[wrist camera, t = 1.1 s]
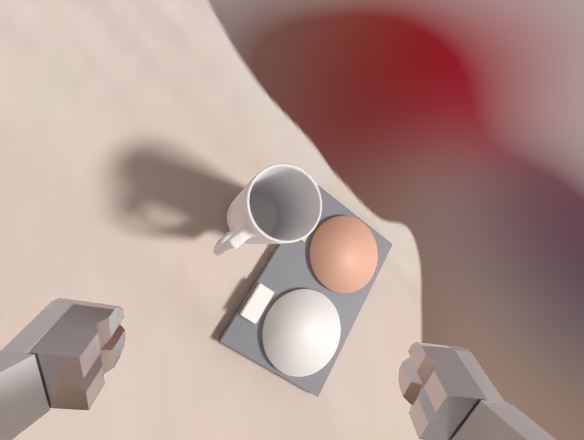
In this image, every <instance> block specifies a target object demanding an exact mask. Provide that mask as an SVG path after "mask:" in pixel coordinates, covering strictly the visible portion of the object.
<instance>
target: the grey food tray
mask: <svg viewBox="0 0 584 440" xmlns="http://www.w3.org/2000/svg"><path fill="white" fill-rule="evenodd" d="M317 186H318V185H317ZM318 188H319V191H320V194H321V199H322V212H321V217H320V220H319V222H318V224H317V226H316V227H315V229H314V230H313V231H312V232H311V233H310V234H309V235H308V236H307V237H305V238H304V239H302V240H300V241H297V242H293V243H283V244H278V245H277V247H276V249H275V250H274V252H273V253H272V255H271V257H270V258H269V260H268V261H267V263H266V265H265V266H264V268H263V269H262V271H261V273H260V274H259V276H258V277H257V279H256V281H255V282H254V284H253V286H252V287H251V289H250V290H249V292H248V294H247V295H246V297H245V298H244V300H243V302H242V303H241V305H240V306H239V308H238V310H237V311H236V313H235V314H234V316H233V318H232V319H231V321H230V322H229V324H228V326H227V327H226V329H225V331H224V332H223V334H222V335H221V337H220V339H219V341H220V342H221V343H223V344H225V345H226V346H228V347H230V348H232V349H233V350H235V351H237V352H239V353H240V354H242V355H244V356H246V357H248V358H249V359H251V360H253V361H255V362H256V363H258V364H260V365H262V366H264V367H265V368H267V369H269V370H271V371H272V372H274V373H276V374H278V375H280V376H281V377H283V378H285V379H287V380H288V381H290V382H292V383H294V384H296V385H297V386H299V387H301V388H303V389H304V390H306V391H308V392H310V393H312V394H313V395H315V396H317V397H318V396H319V394H320V392H321V390H322V388H323V386H324V384H325V381H326V379H327V377H328V375H329V373H330V371H331V369H332V367H333V365H334V363H335V361H336V359H337V357H338V355H339V353H340V351H341V349H342V347H343V345H344V343H345V340H346V338H347V336H348V334H349V332H350V330H351V328H352V326H353V324H354V322H355V320H356V318H357V316H358V314H359V312H360V310H361V308H362V306H363V304H364V302H365V299H366V297H367V295H368V293H369V291H370V289H371V287H372V285H373V283H374V281H375V279H376V277H377V275H378V273H379V271H380V269H381V267H382V265H383V263H384V261H385V258H386V256H387V254H388V252H389V250H390V248H391V246H392V244H391V243H390V242H389V241H388V240H386V239H385V238H384V237H383V236H381V235H380V234H379V233H378V232H376V231H375V230H374V229H372V228H371V227H370V226H369V225H367V224H366V223H365V222H364V221H362V220H361V219H360V218H359V217H357V216H356V215H355V214H354V213H352V212H351V211H350V210H349V209H347V208H346V207H345V206H344V205H342V204H341V203H340V202H338V201H337V200H336V199H335V198H333V197H332V196H331V195H330V194H328V193H327V192H326V191H325V190H323V189H322V188H321V187H320V186H318Z"/></svg>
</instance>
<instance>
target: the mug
mask: <svg viewBox="0 0 584 440" xmlns="http://www.w3.org/2000/svg"><path fill="white" fill-rule="evenodd" d="M321 212H322V199H321V194H320V191H319V188H318V186H317V184H316V182H315V181H314V180H313V178H312V177H311V176H310V175H309V174H308V173H306V172H305V171H304V170H302V169H300V168H298V167H296V166H293V165H289V164H276V165H272V166H269V167H267V168H265V169H263V170H262V171H260V172H259V173H258V174H257V175H256V176H255V177H254V178H253V179H252V180H251V181H250V182H249V183H248V184H247V185H246V187H245V188H244V189H243V190H242V191H241V192H240V193H239V194H238V195H237V196H236V198H235V199H234V200H233V201H232V203H231V204H230V206H229V208H228V211H227V224H228V227H229V230H230V231H229V232H228V233H226V234H225V235H224V236H223V237H221V238H220V239H219V240H218V242H217V243H216V245H215V246H214V249H213V252H214V253H215V255H222V254H224V253H227V252H229V251H231V250H233V249H236V248H238V247H239V246H240V245H242V244H243V243H248V244H283V243H293V242H297V241H300V240H302V239H304V238H305V237H307V236H308V235H309V234H310V233H311V232H312V231H313V230H314V229H315V227H316V226H317V224H318V222H319V220H320V217H321Z"/></svg>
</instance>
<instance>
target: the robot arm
mask: <svg viewBox="0 0 584 440" xmlns="http://www.w3.org/2000/svg"><path fill="white" fill-rule="evenodd" d="M123 318H124V314H123V308H121V307H119V306H113V305H106V304H99V303H92V302H85V301H76V300H69V299H62V298H59V299H56V300H54V301H52V302H51V303H50V304H49V305H48V306H47V307H46V308H45V309H44V310H43V311H42V312H41V313H40V314H39V315H37V316H36V317H35V318H34V319H33V320H32V321H31V322H30V323H29V324H28V325H27V326H26V327H25V328H24V329H23V330H22V331H21V332H20V333H19V334H18V335H17V336H16V337H15V338H14V339H13V340H12V341H11V342H10V343H8V344H7V345H6V346H5V347H4V348H3V349H2V350H1V351H0V440H12V439H13V438H14V437H16V436H17V435H18V434H20V433H21V432H22V431H24V430H25V429H26V428H27V427H29V426H30V425H31V424H33V423H34V422H35V421H37V420H38V419H39V418H40V417H42V416H43V415H44V414H46V413H47V412H48V411H49V410H50V409H49V408H60V409H77V410H89V409H90V408H91V406H92V404H93V402H94V401H95V399H96V397H97V396H98V394H99V392H100V391H101V389H102V387H103V386H104V384H105V382H104V374H105V373H106V372H108V371H109V370H111V369H112V368H114V367H115V365H116V363H117V361H118V359H119V358H120V355H121V353H122V350H123V347H124V342H125V329H124V328H123V327H122V326H121V325H120V323H121V321H122V320H123ZM408 352H409V354H410V357H409V358H408V359H406V360H405V361H403V362H402V365H401V367H400V369H399V385H400V389H401V392H402V395H403V397H404V398H405V399H406V400H407V401H408V402H409V403H410V404H411V408H410V411H409V414H410V416H411V419H412V421H413V424H414V427H415V429H416V432H417V435H418V437H419V439H427V440H556V439H554V438H553V437H552V436H551V435H549V434H548V433H547V432H546V431H544V430H543V429H542V428H541V427H539V426H538V425H537V424H536V423H534V422H533V421H532V420H531V419H529V418H528V417H527V416H526V415H524V414H523V413H522V412H521V411H519V410H518V409H517V408H515V407H514V406H513V405H512V404H510V403H505V402H504V400H503V399H502V397H501V396H500V395H499V393H498V392H497V390H496V389H495V387H494V386H493V384H492V383H491V381H490V380H489V379H488V377H487V375H486V374H485V372H484V371H483V370H482V368H481V367H480V365H479V364H478V362H477V361H476V359H475V358H474V356H473V355H472V353H471V352H470V351H469V350H467V349H466V348H463V347H453V346H444V345H436V344H427V343H418V342H415V343H414V344H412V345H411V347H410V349H409V351H408Z"/></svg>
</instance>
